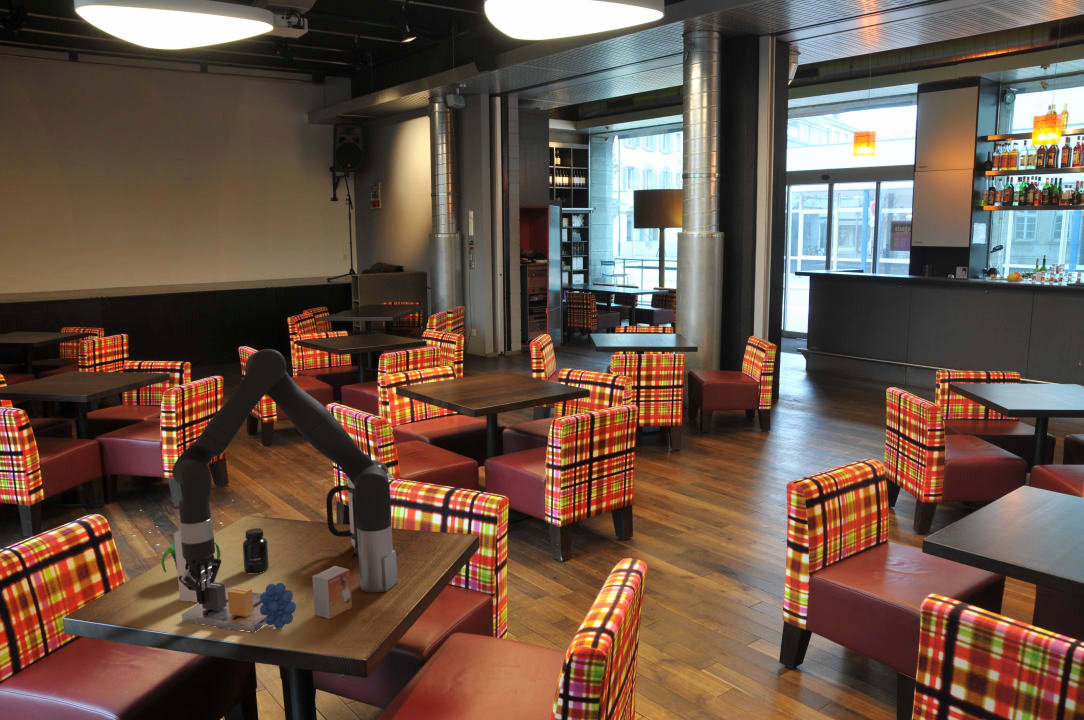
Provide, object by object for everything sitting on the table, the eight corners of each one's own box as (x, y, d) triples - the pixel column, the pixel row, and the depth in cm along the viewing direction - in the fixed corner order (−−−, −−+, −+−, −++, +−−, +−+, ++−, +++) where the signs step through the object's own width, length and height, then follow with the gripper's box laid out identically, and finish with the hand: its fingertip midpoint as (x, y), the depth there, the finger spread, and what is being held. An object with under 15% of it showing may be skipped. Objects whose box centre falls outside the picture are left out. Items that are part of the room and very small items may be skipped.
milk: (179, 601, 221) (171, 522, 218) (194, 591, 227) (186, 514, 224) (199, 602, 220) (191, 523, 216) (213, 593, 225) (206, 515, 222)
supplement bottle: (253, 576, 236) (250, 536, 234) (239, 571, 240) (236, 531, 238) (274, 568, 241) (271, 529, 239) (260, 563, 245) (257, 525, 244)
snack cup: (165, 589, 229) (161, 554, 227) (161, 576, 238) (158, 542, 236) (224, 577, 236) (221, 543, 235) (219, 564, 245) (216, 532, 244)
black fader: (226, 605, 212) (224, 582, 211) (218, 610, 209) (216, 587, 208) (210, 603, 213) (208, 580, 212) (202, 608, 211) (200, 585, 210)
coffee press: (370, 535, 266) (365, 445, 262) (405, 545, 257) (401, 452, 252) (327, 553, 252) (321, 458, 248) (363, 564, 243) (357, 465, 239)
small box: (329, 619, 208) (327, 580, 206) (314, 615, 211) (311, 575, 209) (352, 607, 215) (350, 569, 213) (337, 602, 217) (334, 564, 216)
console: (294, 605, 217) (293, 597, 216) (254, 633, 202) (253, 625, 201) (225, 595, 224) (224, 588, 223) (182, 621, 209) (181, 613, 208)
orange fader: (253, 611, 208) (251, 588, 207) (245, 616, 205) (243, 593, 204) (237, 609, 210) (235, 585, 209) (229, 614, 207) (227, 590, 206)
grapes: (309, 626, 205) (306, 580, 203) (288, 637, 199) (286, 590, 197) (275, 616, 210) (272, 571, 209) (254, 627, 204) (251, 581, 203)
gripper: (190, 548, 197) (197, 616, 200) (227, 529, 209) (233, 593, 212) (165, 545, 199) (172, 612, 202) (203, 526, 212) (209, 590, 214)
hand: (203, 602), depth 207 cm, fingers closed
